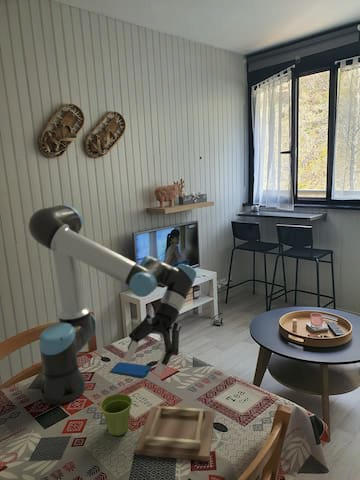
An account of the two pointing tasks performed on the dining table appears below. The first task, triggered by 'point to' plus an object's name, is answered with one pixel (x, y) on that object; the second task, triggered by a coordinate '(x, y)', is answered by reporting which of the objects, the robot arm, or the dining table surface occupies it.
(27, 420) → the dining table surface
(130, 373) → the smartphone
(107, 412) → the plant pot
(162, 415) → the pot stand
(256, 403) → the dining table surface
